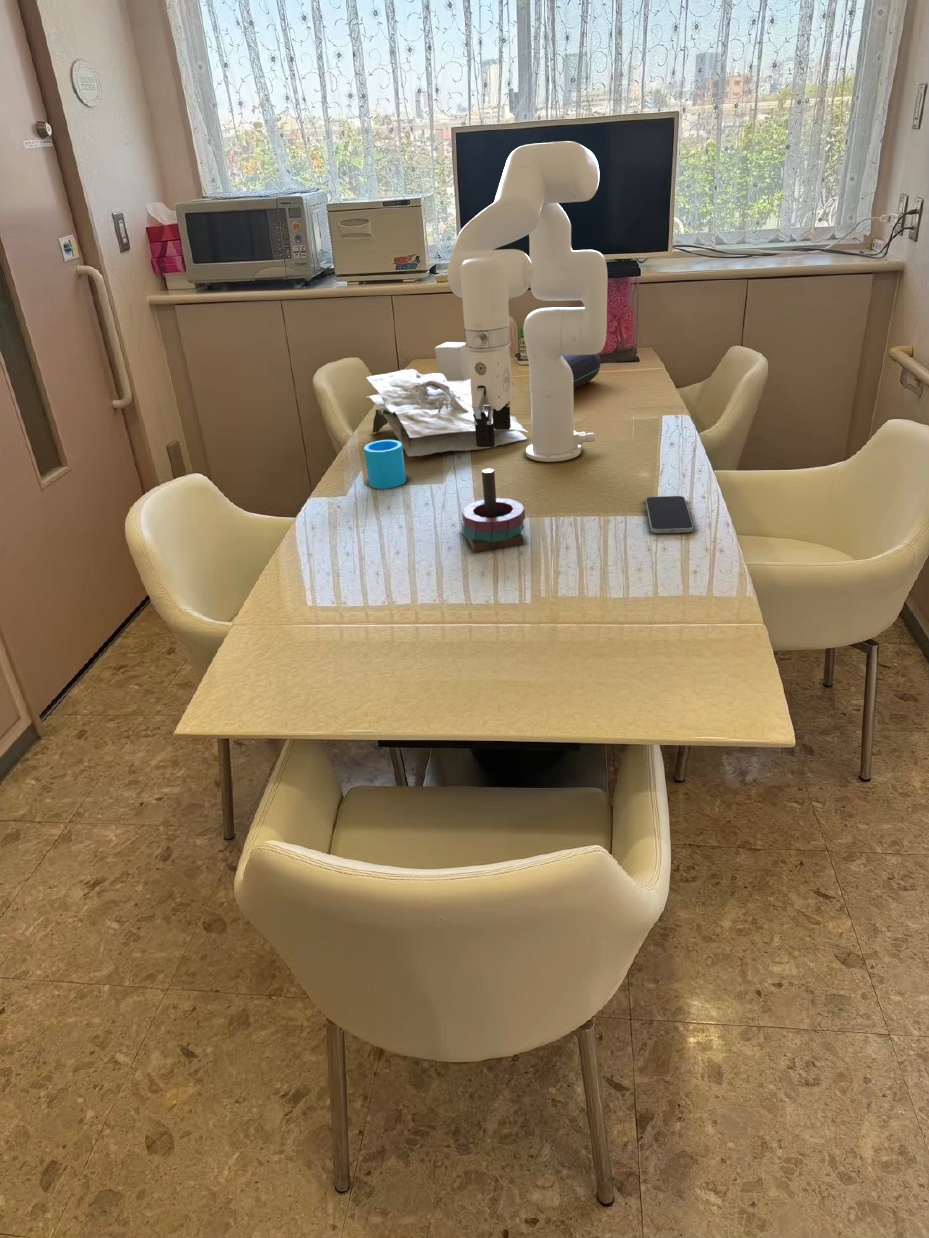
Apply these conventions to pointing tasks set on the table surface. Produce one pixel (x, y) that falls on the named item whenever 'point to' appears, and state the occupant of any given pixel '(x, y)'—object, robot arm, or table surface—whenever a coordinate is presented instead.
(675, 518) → the smartphone
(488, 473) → the peg stand
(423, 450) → the plastic wrap
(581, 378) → the portable speaker
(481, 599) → the table surface
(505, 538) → the teal ring
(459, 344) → the cosmetic box
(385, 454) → the mug
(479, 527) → the plum ring
